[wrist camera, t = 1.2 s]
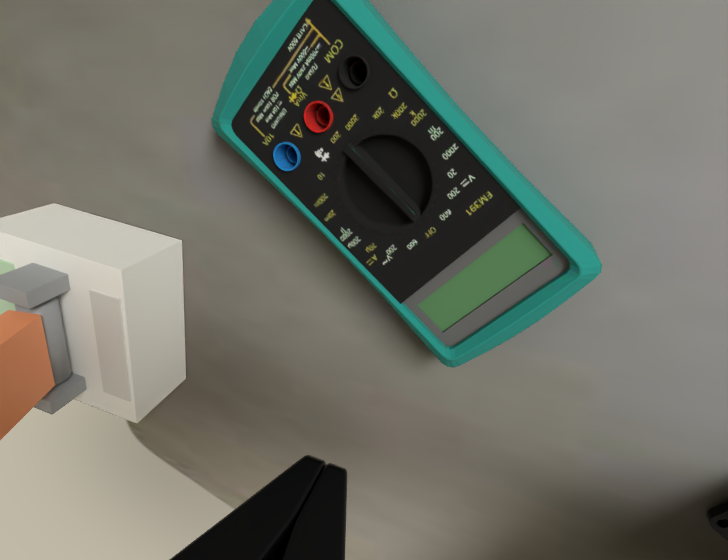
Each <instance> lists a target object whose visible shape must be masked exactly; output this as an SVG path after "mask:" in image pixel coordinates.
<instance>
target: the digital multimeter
mask: <svg viewBox="0 0 728 560" xmlns="http://www.w3.org/2000/svg"><path fill="white" fill-rule="evenodd" d="M331 1H332V2H333V3H334V4H335V5H336V6H337V7H336V6H335V5H334V4H333V3H332V2H331ZM331 1H330V0H273V1H272V3H271V4H270V5H269V6H268V7H267V8H266V9H265V11H264V12H263V13H262V14H261V15H260V16H259V17H258V19H257V20H256V21H255V23H254V24H253V26H252V27H251V29H250V31H249V32H248V34H247V36H246V37H245V39H244V40H243V42H242V44H241V45H240V47H239V48H238V50H237V52H236V55H235V57H234V59H233V62H232V64H231V66H230V69H229V71H228V74H227V76H226V78H225V81H224V83H223V86H222V89H221V92H220V95H219V98H218V102H217V105H216V108H215V111H214V114H213V117H212V126H213V128H214V130H215V131H216V133H217V134H218V135H219V136H220V137H221V138H222V139H223V140H224V141H226V142H227V143H228V144H229V145H230V146H231V147H232V148H233V149H234V150H235V151H236V152H237V153H239V154H240V155H241V156H242V157H243V158H244V159H245V160H246V161H247V162H248V163H249V164H250V165H252V166H253V167H254V168H255V169H256V170H257V171H258V172H259V173H260V174H261V175H262V176H263V177H264V178H266V179H267V180H268V181H269V182H270V183H271V184H272V185H273V186H274V187H275V188H276V189H277V190H278V191H279V192H280V193H281V194H282V195H283V196H284V197H285V198H286V199H287V200H288V201H289V202H290V203H291V204H292V205H294V206H295V207H296V208H297V209H298V210H299V211H300V212H301V213H302V214H303V215H304V216H305V217H306V218H307V219H308V220H309V221H310V222H311V223H312V224H313V225H314V226H315V227H316V228H317V229H318V230H319V231H320V232H321V233H322V234H323V235H325V236H326V238H327V239H328V240H329V241H330V242H331V243H332V244H333V245H334V246H335V247H336V248H337V249H338V250H339V251H340V252H341V253H342V254H343V255H344V256H345V257H346V258H347V260H348V261H349V262H350V263H351V264H352V265H353V266H354V267H355V268H356V269H357V270H358V271H359V272H360V273H361V274H362V275H363V276H364V277H365V278H366V279H367V281H368V282H369V283H370V284H371V285H372V286H373V287H374V288H375V289H376V290H377V291H378V292H379V293H380V294H381V295H382V296H383V298H384V299H385V300H386V301H387V302H388V303H389V304H390V305H391V307H392V308H393V309H394V310H395V311H396V312H397V313H398V314H399V315H400V317H401V318H402V319H403V320H404V321H405V322H406V323H407V324H408V326H409V327H410V328H411V329H412V330H413V331H414V332H415V333H416V335H417V336H418V337H419V338H420V339H421V340H422V341H423V342H424V344H425V345H426V346H427V347H428V348H429V349H430V350H431V351H432V353H433V354H434V355H435V356H436V357H437V358H438V359H439V360H440V361H441V363H443V364H444V365H446V366H447V367H457V366H460V365H462V364H464V363H466V362H467V361H469V360H471V359H473V358H475V357H477V356H479V355H481V354H483V353H485V352H487V351H489V350H491V349H492V348H494V347H496V346H498V345H500V344H501V343H503V342H505V341H507V340H509V339H510V338H512V337H514V336H515V335H517V334H518V333H520V332H521V331H523V330H525V329H526V328H528V327H529V326H531V325H532V324H534V323H536V322H537V321H539V320H540V319H541V318H543V317H544V316H546V315H547V314H548V313H550V312H551V311H552V310H554V309H555V308H557V307H558V306H559V305H561V304H562V303H564V302H565V301H566V300H568V299H569V298H570V297H571V296H573V295H574V294H575V293H577V292H578V291H579V290H581V289H582V288H583V287H584V286H586V285H587V284H588V283H590V282H591V281H592V280H593V279H595V278H596V277H597V276H598V275H599V274H600V272H601V267H602V265H601V262H600V260H599V258H598V256H597V254H596V252H595V250H594V248H593V246H592V244H591V242H590V241H589V240H588V239H587V238H586V237H585V236H584V235H583V234H582V233H581V232H580V231H579V230H578V229H577V228H576V227H575V226H574V225H573V224H572V223H571V222H570V221H569V220H568V219H567V218H566V217H565V216H564V215H563V214H562V213H561V212H560V211H559V210H558V209H557V208H556V207H555V206H554V205H553V204H552V203H551V202H550V201H549V200H548V199H547V198H546V197H545V196H544V195H543V194H542V193H541V192H540V191H539V190H537V189H536V188H535V187H534V186H533V185H532V184H531V183H530V182H529V181H528V180H527V179H526V178H525V177H524V176H523V175H522V174H521V173H520V172H519V171H518V170H517V168H516V167H515V166H514V165H513V164H512V163H511V162H510V161H509V160H508V159H507V158H506V157H505V156H504V155H503V153H502V152H501V151H500V150H499V149H498V148H497V147H496V146H495V145H494V144H493V143H492V142H491V141H490V140H489V139H488V137H487V136H486V135H485V134H484V133H483V132H482V131H481V130H480V129H479V128H478V127H477V126H476V125H475V124H474V122H473V121H472V120H471V119H470V118H469V117H468V116H467V115H466V114H465V113H464V112H463V111H462V110H461V109H460V108H459V106H458V105H457V104H456V103H455V102H454V101H453V100H452V98H451V97H450V96H449V95H448V94H447V93H446V91H445V90H444V89H443V88H442V87H441V86H440V84H439V83H438V82H437V81H436V80H435V79H434V77H433V76H432V75H431V74H430V73H429V72H428V71H427V69H426V68H425V67H424V66H423V65H422V64H421V62H420V61H419V60H418V59H417V58H416V57H415V55H414V54H413V53H412V52H411V51H410V50H409V48H408V47H407V46H406V45H405V44H404V43H403V41H402V40H401V39H400V38H399V37H398V36H397V34H396V33H395V32H394V31H393V30H392V28H391V27H390V26H389V25H388V23H387V22H386V21H385V20H384V19H383V17H382V16H381V15H380V14H379V12H378V11H377V10H376V9H375V8H374V6H373V5H372V4H371V3H370V1H369V0H331ZM342 13H343V14H344V15H345V16H346V17H347V18H348V19H347V18H346V17H345V16H344V15H343V14H342ZM301 16H302V17H301ZM299 19H300V20H299ZM297 22H298V23H297ZM295 25H296V26H295ZM353 25H354V26H355V27H356V28H357V29H358V30H359V31H360V32H359V31H358V30H357V29H356V28H355V27H354V26H353ZM293 28H294V29H293ZM291 31H292V32H291ZM289 34H290V35H289ZM288 35H289V36H288ZM287 37H288V38H287ZM364 37H365V38H366V39H367V40H368V41H369V42H370V43H371V44H370V43H369V42H368V41H367V40H366V39H365V38H364ZM286 38H287V39H286ZM285 40H286V41H285ZM284 41H285V42H284ZM283 43H284V44H283ZM282 44H283V45H282ZM281 46H282V47H281ZM280 47H281V48H280ZM279 49H280V50H279ZM375 49H376V50H377V51H378V52H379V53H380V54H381V55H382V56H381V55H380V54H379V53H378V52H377V51H376V50H375ZM278 50H279V51H278ZM277 52H278V53H277ZM276 53H277V54H276ZM274 56H275V57H274ZM272 59H273V60H272ZM386 61H387V62H388V63H389V64H390V65H391V66H392V67H391V66H390V65H389V64H388V63H387V62H386ZM270 62H271V63H270ZM268 65H269V66H268ZM266 68H267V69H266ZM264 71H265V72H264ZM397 73H398V74H399V75H400V76H401V77H402V78H401V77H400V76H399V75H398V74H397ZM262 74H263V75H262ZM260 77H261V78H260ZM258 80H259V81H258ZM257 81H258V82H257ZM256 83H257V84H256ZM255 84H256V85H255ZM254 86H255V87H254ZM409 86H410V87H411V88H412V89H413V90H412V89H411V88H410V87H409ZM253 87H254V88H253ZM252 89H253V90H252ZM251 90H252V91H251ZM250 92H251V93H250ZM249 93H250V94H249ZM248 95H249V96H248ZM247 96H248V97H247ZM420 98H421V99H422V100H423V101H422V100H421V99H420ZM245 99H246V100H245ZM431 110H432V111H433V112H432V111H431ZM442 122H443V123H444V124H443V123H442ZM372 130H373V131H372ZM394 130H395V131H394ZM363 133H364V134H363ZM403 133H404V134H403ZM453 134H454V135H455V136H454V135H453ZM414 139H415V140H416V141H415V140H414ZM464 146H465V147H466V148H467V149H466V148H465V147H464ZM341 153H342V154H341ZM340 155H341V156H340ZM429 156H430V157H429ZM476 159H477V160H478V161H477V160H476ZM337 162H338V163H337ZM487 171H488V172H489V173H490V174H489V173H488V172H487ZM436 176H437V177H436ZM498 183H499V184H500V185H501V186H502V187H501V186H500V185H499V184H498ZM336 194H337V195H336ZM509 195H510V196H511V197H512V198H511V197H510V196H509ZM435 197H436V198H435ZM419 223H420V224H419ZM359 226H360V227H359ZM412 228H413V229H412ZM364 229H365V230H364ZM366 230H367V231H366ZM374 233H375V234H374ZM565 270H566V271H565ZM564 271H565V272H564ZM562 272H563V273H562ZM561 273H562V274H561ZM559 274H560V275H559ZM556 276H557V277H556ZM553 278H554V279H553Z"/></svg>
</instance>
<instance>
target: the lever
mask: <svg viewBox="0 0 728 560" xmlns="http://www.w3.org/2000/svg"><path fill="white" fill-rule="evenodd" d="M15 309H16V311H13V310H7V311H6V312H4V313H3V314H1V315H0V440H1V439H2V438H3V437H4V436H5V435H6V434H7V433H8V432H9V431H10V430H11V429H12V428H13V427H14V426H15V425H16V424H17V423H18V422H19V421H20V420H21V419H22V418H23V417H24V416H25V415H26V414H27V413H28V412H29V411H30V410H31V409H32V408H33V407H34V406H35V405H36V404H37V403H38V402H39V401H40V400H41V399H42V398H43V397H44V396H45V395H46V394H47V393H48V392H49V391H50V390H51V389H52V388H53V387H54V386H55V385H57V384H59V383H62V382H63V381H65V380H66V379H68V378H69V376H70V375H71V368H70V362H69V356H68V351H67V345H66V340H65V334H64V329H63V323H62V318H61V312H60V306H59V301H58V296H56V297H54V298H51V299H49V300H47V301H45V302H43V303H41V304H39V305H37V306H35V307H33V308H30V309H28V308H25V307H22V306H19V305H16V304H15Z"/></svg>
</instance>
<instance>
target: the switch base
mask: <svg viewBox="0 0 728 560" xmlns="http://www.w3.org/2000/svg"><path fill="white" fill-rule="evenodd" d="M56 296H58V301H59V306H60V312H61V318H62V323H63V329H64V334H65V340H66V345H67V351H68V356H69V362H70V368H71V375H70V376H69V378H68V379H66V380H65V381H63V382H62V383H59V384H57V385H55V386H54V387H53V388H52V389H51V390H50V391H49V392H48V393H47V394H46V395H45V396H44V397H43V398H42V399H41V400H40V401H39V402H38V403H37V404H36V405H35V406H34V407H35V408H37V409H40V410H42V411H45V412H47V413H50V414H54V413H55V412H56V411H58V410H59V409H60V408H62V407H63V406H65V405H66V404H67V403H69V402H70V401H71V400H73V399H75V400H78V401H80V402H83V403H85V404H88V405H91V406H93V407H96V408H98V409H101V410H103V411H106V412H108V413H111V414H113V415H116V416H119V417H121V418H124V419H126V420H129V421H131V422H134V423H136V424H137V423H138V422H139V421H140V420H141V419H143V418H144V417H145V416H146V415H147V414H148V413H149V412H150V411H151V410H152V409H153V408H155V407H156V406H157V405H158V404H159V403H160V402H161V401H162V400H163V399H164V398H165V397H166V396H168V395H169V394H170V393H171V392H172V391H173V390H174V389H175V388H176V387H177V386H178V385H180V384H181V383H182V382H183V381H184V380H185V379H186V357H185V324H184V292H183V259H182V240H179V239H176V238H172V237H169V236H165V235H162V234H158V233H155V232H151V231H148V230H145V229H141V228H138V227H134V226H131V225H127V224H124V223H120V222H117V221H114V220H110V219H107V218H103V217H100V216H96V215H93V214H90V213H86V212H83V211H79V210H76V209H72V208H69V207H65V206H62V205H59V204H55V203H54V204H50V205H46V206H43V207H39V208H35V209H32V210H28V211H24V212H21V213H17V214H13V215H9V216H6V217H2V218H0V315H1V314H3V313H4V312H6V311H7V310H13V311H16V309H15V304H16V305H19V306H22V307H25V308H28V309H30V308H33V307H35V306H37V305H39V304H41V303H43V302H45V301H47V300H49V299H51V298H54V297H56Z"/></svg>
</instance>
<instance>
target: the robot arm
mask: <svg viewBox="0 0 728 560" xmlns="http://www.w3.org/2000/svg"><path fill="white" fill-rule="evenodd" d="M346 500H347V471H346V469H344V468H342V467H339V466H337V465H334V464H331V463H329V464H327V465H326V463H325V461H323V460H321V459H318V458H315V457H313V456H310V455H307V456H304V457H303V458H301V459H300V460H299V461H297V462H296V463H295V464H293V465H292V466H291V467H290V468H288V469H287V470H286V471H284V472H283V473H282V474H280V475H279V476H278V477H276V478H275V479H274V480H273V481H271V482H270V483H269V484H267V485H266V486H265V487H263V488H262V489H261V490H260V491H258V492H257V493H256V494H254V495H253V496H252V497H250V498H249V499H248V500H247V501H245V502H244V503H243V504H241V505H240V506H239V507H237V508H236V509H235V510H234V511H232V512H231V513H230V514H228V515H227V516H226V517H224V518H223V519H222V520H221V521H219V522H218V523H217V524H215V525H214V526H213V527H212V528H210V529H209V530H207V531H206V532H205V533H204V534H202V535H201V536H200V537H198V538H197V539H196V540H194V541H193V542H192V543H191V544H189V545H188V546H187V547H185V548H184V549H183V550H181V551H180V552H179V553H178V554H176V555H175V556H174V557H173V558H171V559H170V560H345V535H346ZM707 518H708V521H709V523H710V525H711V526H712V528H713V529H715V530H716V531H717V532H718V533H720V534H721V535H722V536H723V537H725V538H726V539H727V540H728V501H727V502H725V503H723V504H721V505H718V506H716V507H714V508H712V509H710V510H709V511H708V512H707ZM721 519H723V520H721Z"/></svg>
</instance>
